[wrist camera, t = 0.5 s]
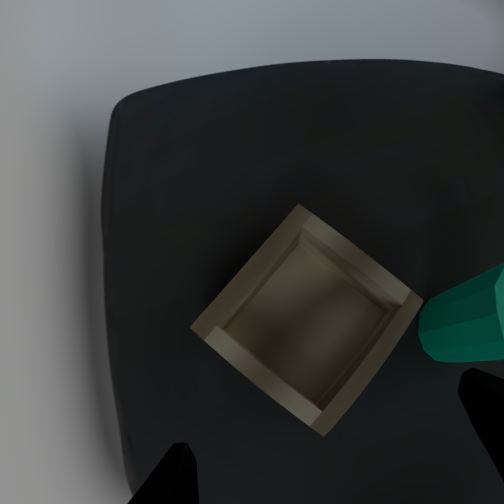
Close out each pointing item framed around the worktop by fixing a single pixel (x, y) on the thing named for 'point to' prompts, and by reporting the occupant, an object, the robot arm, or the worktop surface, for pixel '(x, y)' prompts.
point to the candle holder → (309, 319)
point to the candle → (466, 320)
